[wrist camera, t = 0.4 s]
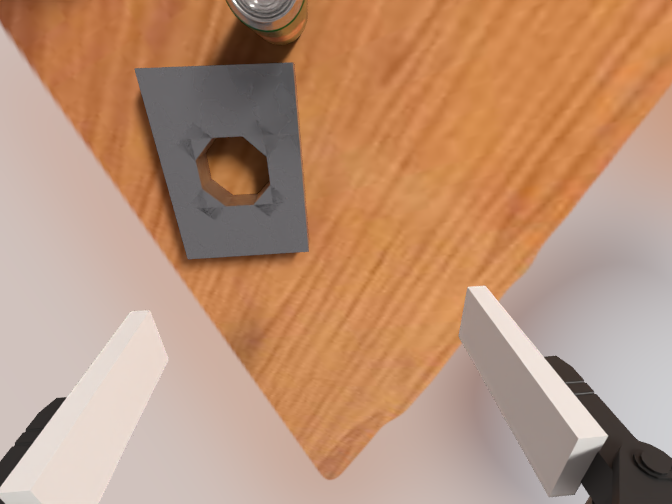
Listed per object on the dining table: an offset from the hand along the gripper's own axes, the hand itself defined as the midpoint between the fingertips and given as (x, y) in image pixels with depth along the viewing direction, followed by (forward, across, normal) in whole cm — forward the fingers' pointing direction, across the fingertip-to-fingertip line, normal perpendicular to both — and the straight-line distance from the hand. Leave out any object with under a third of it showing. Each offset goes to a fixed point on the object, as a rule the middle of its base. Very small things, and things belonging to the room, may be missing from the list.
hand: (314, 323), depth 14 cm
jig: (+25, -7, +1) cm, 26 cm away
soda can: (+25, -2, +14) cm, 29 cm away
